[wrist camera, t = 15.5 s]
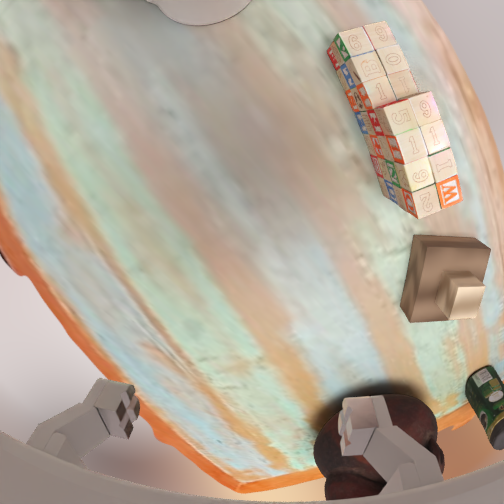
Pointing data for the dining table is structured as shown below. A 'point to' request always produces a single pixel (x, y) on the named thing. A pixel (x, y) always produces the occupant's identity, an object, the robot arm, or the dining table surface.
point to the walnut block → (438, 271)
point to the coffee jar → (488, 403)
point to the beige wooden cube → (459, 294)
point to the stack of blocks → (396, 121)
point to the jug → (356, 466)
